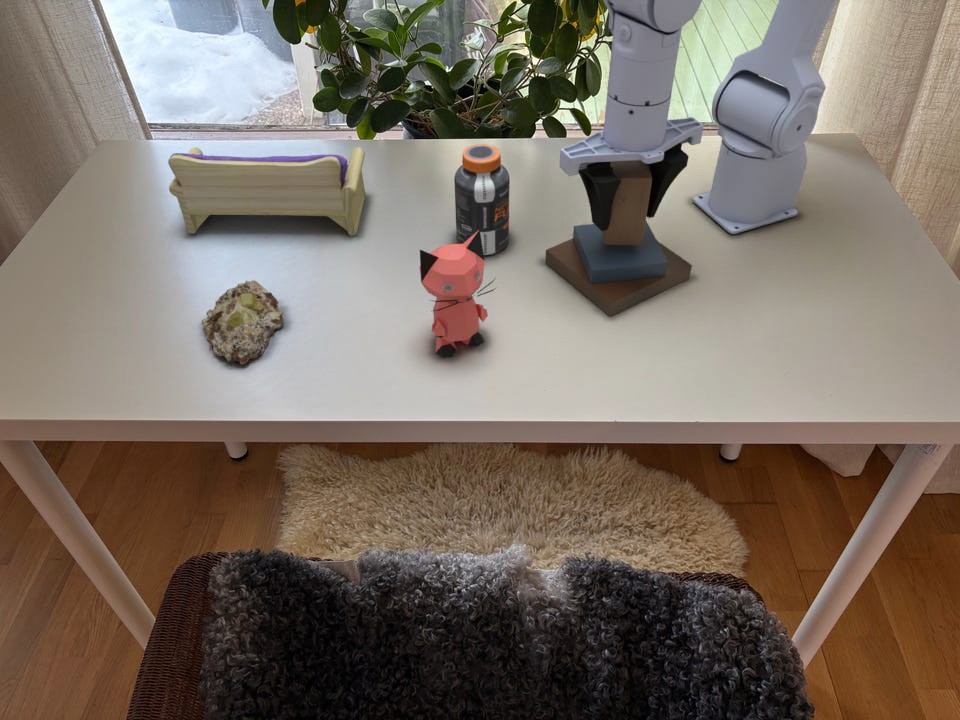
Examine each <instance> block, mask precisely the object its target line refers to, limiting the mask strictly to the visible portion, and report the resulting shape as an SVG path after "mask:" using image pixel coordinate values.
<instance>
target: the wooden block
mask: <svg viewBox="0 0 960 720" xmlns="http://www.w3.org/2000/svg"><path fill="white" fill-rule="evenodd" d="M610 166H611V167H613V173H614V174H615V175H616V176H617V177H618V178H619V179H620V180H621V183H620V185H619V187H618V189H617V191H616V194H615V197H614V200H613V204H612V210H611V218H610V224H609V227H608V230H604V231H602V233H603V241H604V243H605V244H607V245H641V244H642V242H643V236H644V230H645V223H646V221H647V218H648V217H647V210H648V204H649V197H650V191H651V184H652V176H651V171H650V166H649V164H645V163H643V162H642V161H641V160H634V161H612V162H611V164H610Z"/></svg>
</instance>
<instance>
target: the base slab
mask: <svg viewBox="0 0 960 720" xmlns="http://www.w3.org/2000/svg"><path fill="white" fill-rule="evenodd" d="M657 242H658V244H659V246H660V247H661V249H662V251H663V253H664V255H665V257H666V259H667V261H668V266H667V272H666V276H660V277H651V278H642V279H633V280H623V281H614V282H605V283H596V284H590V281H589V279H588V276H587V273H586V271H585V268H584V266H583V263H582V261H581V258H580V256H579V253H578V251H577V248H576V246H575V243H574V241H573V237H572V238H570V239H568V240H566V241H563V242H561V243H558V244H556V245H554V246H552V247H549V248H547V249H545V261H544V262H545V264H546V265H547V266H549V267H550V268H551V269H552V270H553V271H555V272H556V273H557V274H558V275H559V276H560V277H562V278H563V279H564V280H565V281H566V282H568V283H569V284H570V285H571V286H572V287H574V289H576V290H577V291H579V292H580V293H581V294H582V295H584V296H585V297H586V298H587V299H588V300H589V301H591V303H593V304H594V305H596V306H597V307H598V308H599V309H600V310H601V311H603V312H604V313H605V314H606V315H608V316H609V317H612V316H615V315H616V314H619V313H621V312H623V311H625V310H626V309H629V308H631V307H633V306H635V305H637V304H640V303H642V302H643V301H646V300H648V299H650V298H652V297H653V296H656V295H658V294H660V293H662V292H664V291H666V290H668V289H671V288H672V287H674V286H676V285H679V284H680V283H683V282H685V281H687V280H689V279H690V277H691V272H692V267H693V264H691V263H690V262H688V261H687V260H685V259H684V258H683V257H682V256H680V255H679V254H677V253H675V251H672V249H670V248H668V247H667V246H665V245H664V244H663V243H661V242H660V241H659V240H657Z"/></svg>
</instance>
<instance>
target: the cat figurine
mask: <svg viewBox="0 0 960 720" xmlns="http://www.w3.org/2000/svg"><path fill="white" fill-rule="evenodd" d="M419 260H420V261H419V264H420V265H419V273H420V283H421V285H422V287H424V289H425V290H426V292H427V293H428V294H430V295H432V296H433V297H435V298H436V299H435V300H434V305H433V308H432V313H433V323H432V325H431V332H432V334H433V336H434V337H437V338H436V341H435V354H437V355H438V356H439V357H441V358H443V359H445V358H452V357H453V356H454V355H455V353H456V351H457V347H456V344H455V342H460V341H461V342H462V343H463V344H465V345H466V346H470V347H479V346H481V345H483V343H485V341H484V337H483V334H482V333H480V332H479V331H480V321H481V322H485V320H486V319H487V318H488V317H489V315H488V310H487V308H485V307H484V305H483V304H480V303H476V301H475V299H474V297H475V296H477V297H480V296H482V295H485V294H489V293H491V292H493V291H495V289H497V288H498V286H496V287H495V288H493V289H491V290H488V291H485V292H483V293H481V292H482V291H484V290H485V289H486V288H487V287H488V286H490V285H491V284H492V283H494V281H495V280H496V278H494V279H493V280H492V281H491V282H489V283H488V284H486V285H485V286H484V287H483V288H481V289H480V287H481V286H482V283H483V281H484V271H485V262H486V260H485V255H484V253H483V247H482V241H481V235H480V230H478V231H477V232H476V233H475V234H474V235H473V236H471V237H470V238H469V239H468V240H467V241H465V242H464V243H463V244H458V243H449V244H444V245H441V246H438V247H437V248H435V249H434V250H433V251H431V252H427V251H424V250H422V249H419ZM479 289H480V290H479ZM475 293H476V294H477V295H476V294H475ZM428 301H429V302H433V299H431V300H428Z"/></svg>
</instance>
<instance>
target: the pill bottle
mask: <svg viewBox="0 0 960 720" xmlns="http://www.w3.org/2000/svg"><path fill="white" fill-rule="evenodd" d="M461 160H462V161H461V165H460V166H459V167H458V168H457V169H456V170H455V174H454V177H453V178H454V179H453V181H454V207H455V208H454V210H455V231H456V242H457V244H463V243H464V242H465V241H467V240H468V239H469V238H470V237H471V236H473V235H474V234H475V233H476V232H477V231H478V230H480V235H481V241H482V247H483V253H484V256H489V255H494V254H496V253H499V252H501V251H502V250H503V249H505V248H506V246H507V245H508V243H509V240H510V173H509V171H508V169H507V168H506V167H505V165H503V164H502V160H501V150H500V149H499V148H498V147H496V146H494V145H493V144H488V143H476V144H472V145H469V146H467V147H466V148H465V149H463V152H462V159H461Z"/></svg>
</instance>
